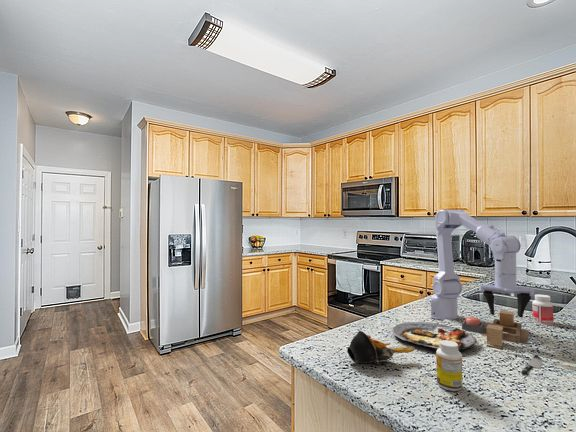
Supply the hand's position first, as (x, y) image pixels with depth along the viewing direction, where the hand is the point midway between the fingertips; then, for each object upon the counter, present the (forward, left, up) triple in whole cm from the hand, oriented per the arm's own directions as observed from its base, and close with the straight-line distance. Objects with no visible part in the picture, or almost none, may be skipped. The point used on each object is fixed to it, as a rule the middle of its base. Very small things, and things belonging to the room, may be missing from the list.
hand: (506, 315), depth 101 cm
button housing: (-10, +5, -9) cm, 14 cm away
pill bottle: (+9, +30, -9) cm, 33 cm away
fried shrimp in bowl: (-27, -38, -9) cm, 48 cm away
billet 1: (-3, -5, -9) cm, 11 cm away
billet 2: (-1, +12, -8) cm, 14 cm away
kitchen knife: (+7, -13, -10) cm, 18 cm away
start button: (-10, +5, -7) cm, 14 cm away
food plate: (-20, -11, -9) cm, 24 cm away
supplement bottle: (-9, -40, -9) cm, 42 cm away
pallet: (-1, +8, -9) cm, 12 cm away
